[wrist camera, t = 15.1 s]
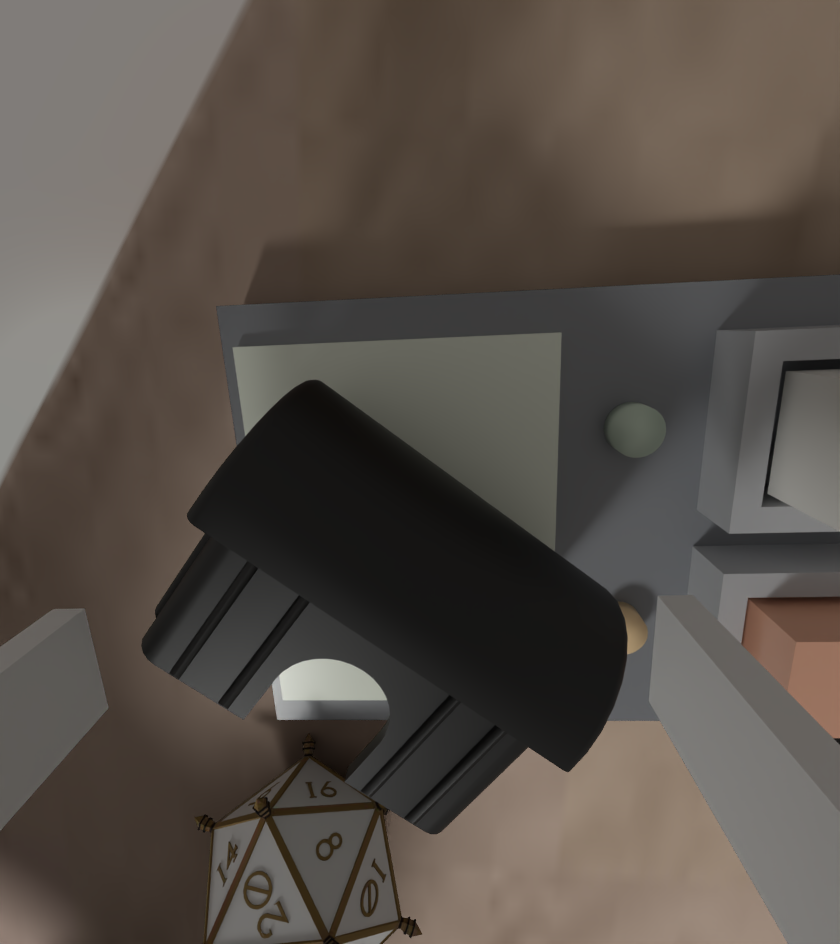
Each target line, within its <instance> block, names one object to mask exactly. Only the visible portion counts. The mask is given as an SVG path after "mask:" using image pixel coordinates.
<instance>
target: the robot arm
mask: <svg viewBox="0 0 840 944" xmlns="http://www.w3.org/2000/svg"><path fill="white" fill-rule="evenodd" d="M649 703H650V704H651V706H652V708H653V709H654V711H655V713H656V715H657V716H658V718H659V720H660V722H661V723H662V725H663V727H664V729H665V730H666V732H667V734H668V736H669V737H670V739H671V741H672V743H673V744H674V746H675V748H676V750H677V751H678V753H679V755H680V757H681V758H682V760H683V762H684V763H685V765H686V767H687V769H688V770H689V772H690V774H691V776H692V777H693V779H694V781H695V783H696V784H697V786H698V788H699V790H700V791H701V793H702V795H703V797H704V798H705V800H706V802H707V804H708V805H709V807H710V809H711V811H712V812H713V814H714V816H715V817H716V819H717V821H718V823H719V824H720V826H721V828H722V830H723V831H724V833H725V835H726V837H727V838H728V840H729V842H730V844H731V845H732V847H733V849H734V851H735V852H736V854H737V856H738V858H739V859H740V861H741V863H742V865H743V866H744V868H745V870H746V872H747V873H748V875H749V877H750V878H751V880H752V882H753V884H754V885H755V887H756V889H757V891H758V892H759V894H760V896H761V898H762V899H763V901H764V903H765V905H766V906H767V908H768V910H769V912H770V913H771V915H772V917H773V919H774V920H775V922H776V924H777V926H778V927H779V929H780V931H781V932H782V934H783V936H784V938H785V939H786V941H787V943H788V944H840V738H833V737H832V736H831V735H830V734H829V733H828V732H827V731H826V730H825V729H824V728H823V727H822V726H821V725H820V724H819V723H818V722H817V721H816V720H815V719H814V718H813V717H812V716H811V715H810V714H809V713H808V712H807V711H806V710H805V709H804V708H803V707H802V706H801V705H800V704H799V703H798V702H797V701H796V700H795V699H794V698H793V697H792V696H791V695H790V694H789V693H788V692H787V690H786V689H785V688H784V687H783V686H782V685H781V684H780V683H779V682H778V681H777V680H776V679H775V678H774V677H773V676H772V675H771V674H770V673H769V672H768V671H767V670H766V669H765V668H764V667H763V666H762V665H761V664H760V663H759V662H758V661H757V660H756V659H755V658H754V657H753V656H752V655H751V654H750V653H749V652H748V651H747V650H746V649H745V648H744V647H743V646H742V645H741V643H740V642H739V641H738V640H737V639H736V638H735V637H734V636H733V635H732V634H731V633H730V632H729V631H728V630H727V629H726V628H725V627H724V626H723V625H722V624H721V623H720V622H719V621H718V620H717V619H716V618H715V617H714V616H713V615H712V614H711V613H710V612H709V611H708V610H707V609H706V608H705V607H704V606H703V605H702V604H701V603H700V602H699V601H698V600H697V599H696V597H695V596H694V595H670V596H658V599H657V610H656V622H655V634H654V645H653V657H652V669H651V680H650V692H649ZM108 708H109V707H108V703H107V699H106V695H105V691H104V687H103V682H102V678H101V674H100V670H99V666H98V662H97V657H96V653H95V649H94V645H93V641H92V637H91V632H90V628H89V624H88V620H87V616H86V612H85V608H80V609H53V610H51V611H50V612H48V613H47V614H45V615H44V616H43V617H41V618H40V619H38V620H37V621H36V622H34V623H33V624H31V625H30V626H29V627H27V628H26V629H24V630H23V631H22V632H20V633H19V634H17V635H16V636H15V637H13V638H12V639H10V640H9V641H8V642H6V643H5V644H3V645H2V646H1V647H0V831H1V829H2V828H3V827H4V826H5V825H6V824H7V823H8V822H9V820H10V819H11V818H12V817H13V816H14V815H15V814H16V812H17V811H18V810H19V809H20V808H21V807H22V806H23V805H24V803H25V802H26V801H27V800H28V799H29V798H30V797H31V795H32V794H33V793H34V792H35V791H36V790H37V789H38V788H39V786H40V785H41V784H42V783H43V782H44V781H45V780H46V779H47V777H48V776H49V775H50V774H51V773H52V772H53V771H54V769H55V768H56V767H57V766H58V765H59V764H60V763H61V762H62V760H63V759H64V758H65V757H66V756H67V755H68V754H69V752H70V751H71V750H72V749H73V748H74V747H75V746H76V745H77V743H78V742H79V741H80V740H81V739H82V738H83V737H84V735H85V734H86V733H87V732H88V731H89V730H90V729H91V728H92V726H93V725H94V724H95V723H96V722H97V721H98V720H99V719H100V717H101V716H102V715H103V714H104V713H105V712H106V711H107V709H108Z"/></svg>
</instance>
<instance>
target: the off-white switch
mask: <svg viewBox="0 0 840 944" xmlns="http://www.w3.org/2000/svg"><path fill="white" fill-rule="evenodd" d="M768 494H769V495H771V496H773V497H775V498H777V499H778V500H780V501H782V502H784V503H786V504H788V505H790V506H792V507H794V508H796V509H797V510H799V511H801V512H803V513H805V514H807V515H809V516H811V517H813V518H815V519H816V520H818V521H820V522H822V523H824V524H826V525H828V526H830V527H832V528H834V529H835V530H837V531H839V532H840V369H829V370H803V371H786V374H785V381H784V387H783V394H782V401H781V407H780V414H779V421H778V427H777V434H776V441H775V447H774V454H773V460H772V467H771V474H770V480H769V487H768Z"/></svg>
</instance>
